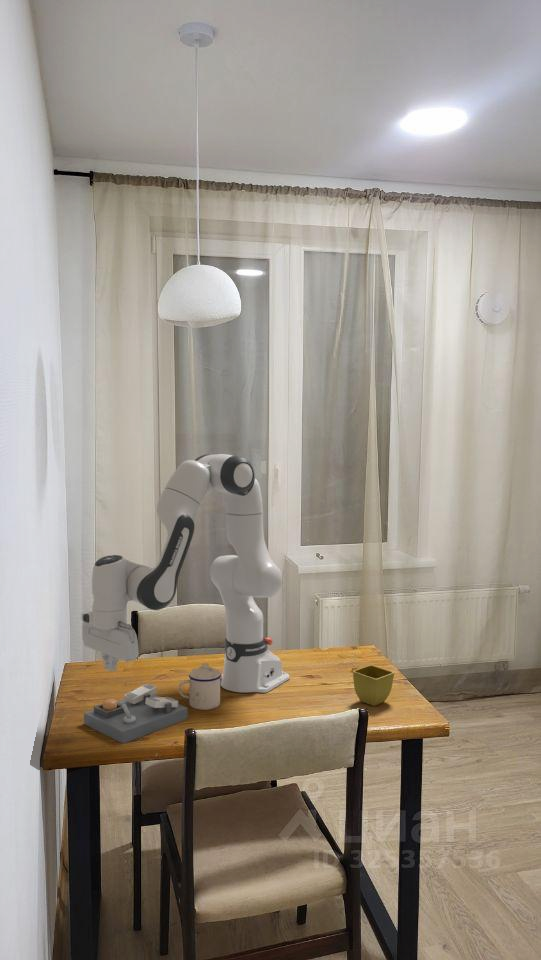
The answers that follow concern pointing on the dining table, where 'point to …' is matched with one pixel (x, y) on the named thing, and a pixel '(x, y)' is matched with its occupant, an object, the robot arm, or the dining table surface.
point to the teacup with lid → (203, 687)
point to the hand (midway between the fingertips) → (110, 670)
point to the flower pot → (372, 684)
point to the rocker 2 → (160, 702)
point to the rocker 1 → (140, 693)
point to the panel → (133, 719)
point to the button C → (109, 704)
